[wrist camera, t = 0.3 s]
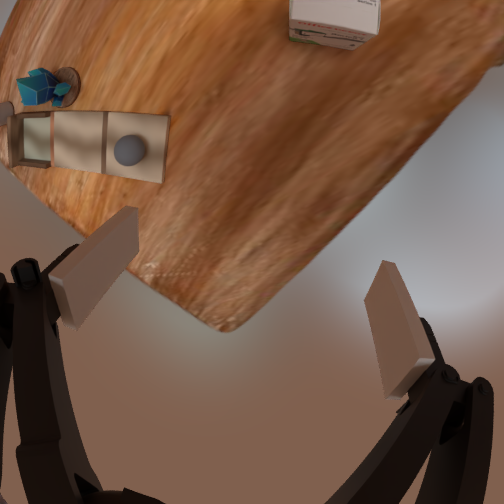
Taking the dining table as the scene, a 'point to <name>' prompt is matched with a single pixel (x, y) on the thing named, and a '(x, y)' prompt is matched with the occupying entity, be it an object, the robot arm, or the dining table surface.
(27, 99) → the gemstone
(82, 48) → the dining table surface
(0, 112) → the beverage can
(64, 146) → the lane
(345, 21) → the ink box
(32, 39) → the dining table surface
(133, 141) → the ball
